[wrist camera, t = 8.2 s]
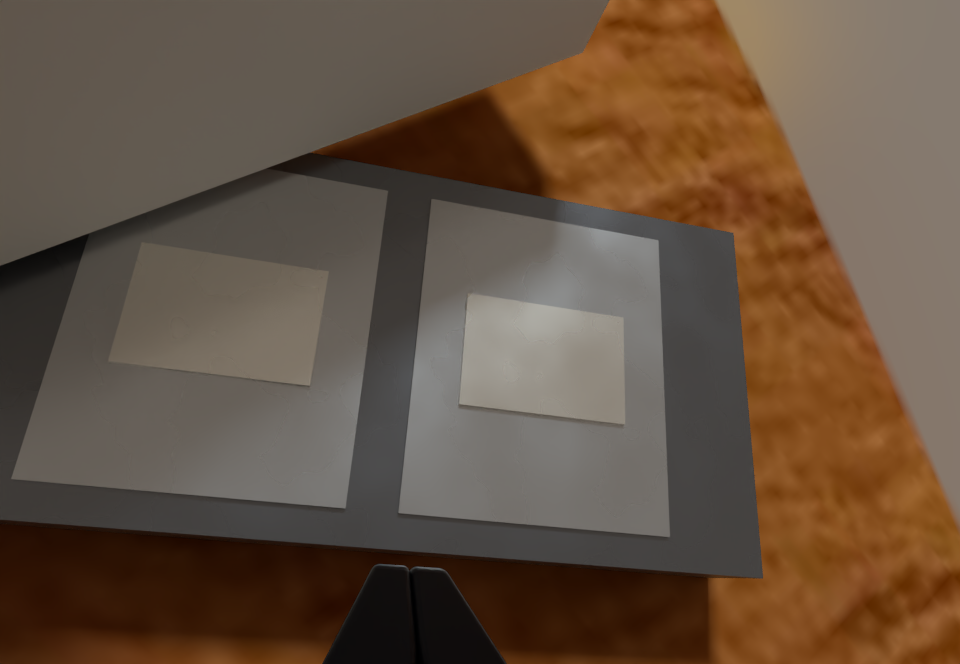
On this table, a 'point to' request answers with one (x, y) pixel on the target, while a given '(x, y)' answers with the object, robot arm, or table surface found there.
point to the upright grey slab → (229, 90)
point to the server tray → (386, 376)
